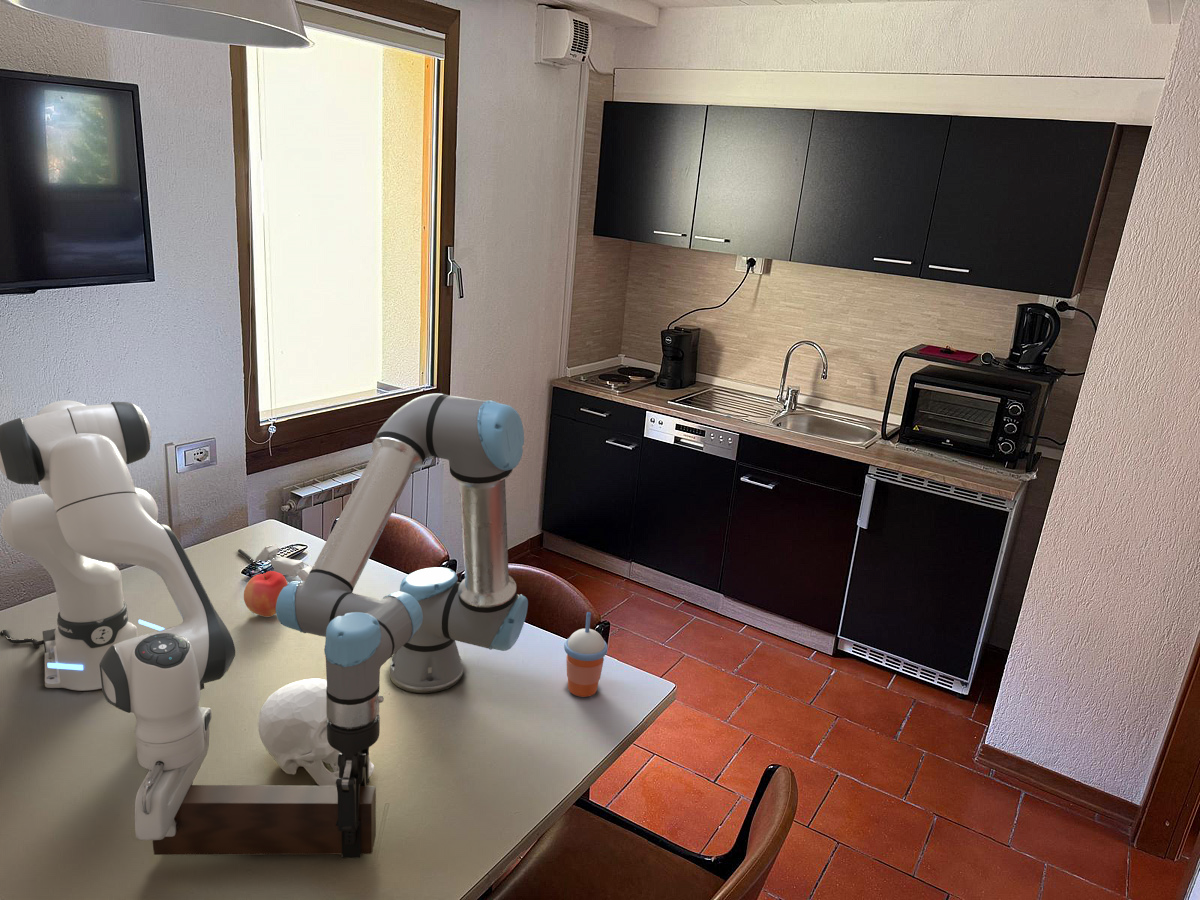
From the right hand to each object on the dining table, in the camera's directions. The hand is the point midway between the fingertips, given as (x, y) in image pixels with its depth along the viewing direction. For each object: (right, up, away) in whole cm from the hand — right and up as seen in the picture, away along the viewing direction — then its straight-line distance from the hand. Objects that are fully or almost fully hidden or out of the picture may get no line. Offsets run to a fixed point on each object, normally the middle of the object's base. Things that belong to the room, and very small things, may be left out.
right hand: (354, 844), depth 133 cm
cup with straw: (+35, +11, +48) cm, 60 cm away
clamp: (-42, +29, +87) cm, 101 cm away
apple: (-40, +23, +68) cm, 82 cm away
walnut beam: (-13, +1, -1) cm, 13 cm away
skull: (-12, +5, +19) cm, 23 cm away
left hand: (-26, +6, -4) cm, 26 cm away
